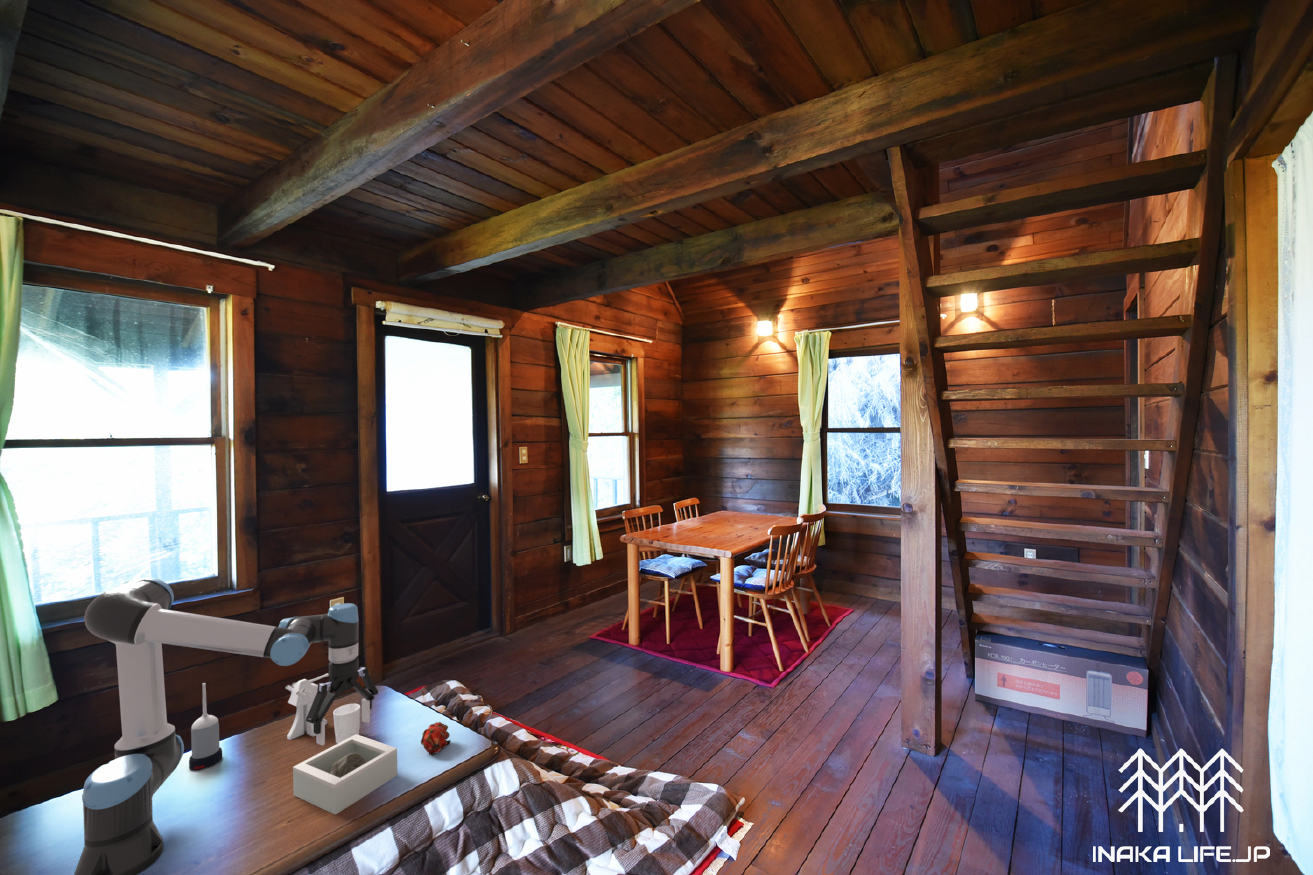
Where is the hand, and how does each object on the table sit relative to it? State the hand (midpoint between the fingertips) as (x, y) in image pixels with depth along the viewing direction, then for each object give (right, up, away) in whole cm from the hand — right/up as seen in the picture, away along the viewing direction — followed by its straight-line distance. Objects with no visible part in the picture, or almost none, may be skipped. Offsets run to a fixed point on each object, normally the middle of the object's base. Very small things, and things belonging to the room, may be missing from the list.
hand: (344, 732), depth 160 cm
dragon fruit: (+20, -15, +17) cm, 30 cm away
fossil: (+2, -16, 0) cm, 16 cm away
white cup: (-13, -16, +25) cm, 33 cm away
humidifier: (-51, -17, +13) cm, 55 cm away
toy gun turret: (-30, -16, +32) cm, 47 cm away
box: (+1, -15, 0) cm, 15 cm away
